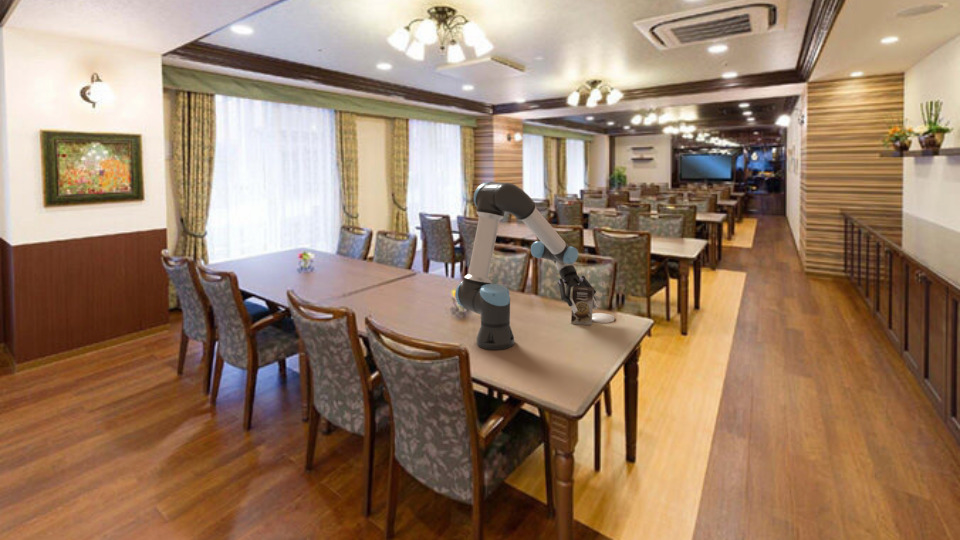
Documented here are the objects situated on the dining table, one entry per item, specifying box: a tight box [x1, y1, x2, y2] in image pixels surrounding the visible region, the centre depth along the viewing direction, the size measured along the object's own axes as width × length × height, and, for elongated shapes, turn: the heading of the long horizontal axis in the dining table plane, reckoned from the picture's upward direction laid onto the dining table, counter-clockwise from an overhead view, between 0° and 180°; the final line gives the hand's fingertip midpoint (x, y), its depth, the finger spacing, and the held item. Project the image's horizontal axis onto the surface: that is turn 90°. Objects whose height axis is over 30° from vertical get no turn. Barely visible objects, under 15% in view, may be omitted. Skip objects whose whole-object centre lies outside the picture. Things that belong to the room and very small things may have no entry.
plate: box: [592, 312, 615, 324], centre depth 225 cm, size 12×12×1 cm
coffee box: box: [570, 286, 595, 326], centre depth 219 cm, size 9×6×16 cm
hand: (586, 310), depth 217 cm, fingers closed on coffee box, 10 cm apart
